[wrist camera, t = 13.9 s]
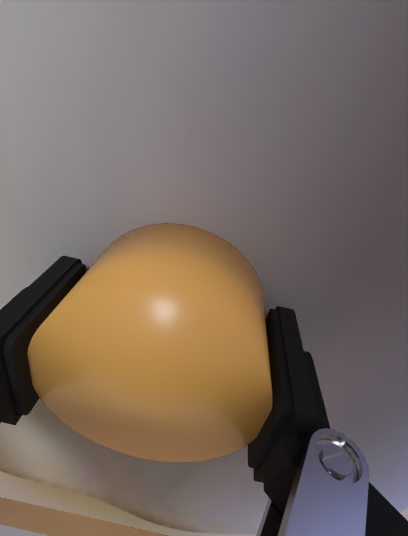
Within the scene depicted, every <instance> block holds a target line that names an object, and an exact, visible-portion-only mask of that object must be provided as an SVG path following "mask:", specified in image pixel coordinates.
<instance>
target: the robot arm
mask: <svg viewBox="0 0 408 536" xmlns="http://www.w3.org/2000/svg"><path fill="white" fill-rule="evenodd" d="M85 273H86V266H85V265H83V264H82V262H81V260H80V259H76V258H72V257H68V256H62V257H60V258H59V259H58V260H57V261H56V262H55V263H54V264H53V265H52V266H51V267H50V268H48V269H47V270H46V271H45V272H44V273H43V274H42V275H41V276H40V277H39V278H38V279H36V280H35V281H34V282H33V283H32V284H31V285H30V286H29V287H26V288H25V289H23V290H22V291H21V292H20V293H19V294H17V295H16V296H15V297H14V298H13V299H12V300H11V301H10V302H9V303H8V304H6V305H5V306H4V307H3V308H2V309H1V310H0V423H1V422H4V423H8V424H12V425H16V423H17V422H18V421H19V419H20V418H21V416H22V415H27V414H29V413H30V411H31V410H32V408H33V407H34V405H35V404H36V402H37V401H38V399H39V398H40V397H39V396H38V394H37V392H36V391H35V389H34V387H33V385H32V378H31V372H30V366H29V360H28V354H27V353H28V347H29V344H30V342H31V339H32V337H33V335H34V334H35V332H36V331H37V329H38V328H39V327H40V325H41V324H42V323H43V322H44V321H45V320H46V318H47V317H48V316H49V315H50V314H51V313H52V311H53V310H54V309H55V308H56V307H57V306H58V304H59V303H60V302H61V301H62V300H63V299H64V297H65V296H66V295H67V294H68V293H69V292H70V291H71V289H72V288H73V287H74V286H75V285H76V284H77V282H78V281H79V280H80V279H81V278H82V277H83V275H84V274H85ZM266 330H267V341H268V352H269V363H270V374H271V385H272V410H271V412H270V414H269V415H268V417H267V419H266V421H265V423H264V424H263V426H262V428H261V430H260V432H259V434H258V435H257V437H256V438H255V439H254V440H253V441H252V442H250V443H249V444H248V466H249V467H250V468H254V481H258V482H263V483H264V491H265V493H266V494H267V495H268V497H269V499H268V502H267V505H266V508H265V511H264V514H263V517H262V520H261V523H260V526H259V529H258V532H257V535H256V536H408V521H407V520H406V519H405V518H404V517H403V516H402V515H401V514H400V513H399V512H398V511H397V510H396V509H395V508H394V507H393V506H392V505H391V504H390V503H389V502H388V501H387V500H386V499H385V498H384V497H383V496H382V495H381V494H380V493H379V492H378V491H377V490H376V489H375V488H374V486H373V485H372V484H371V483H370V482H369V469H368V465H367V462H366V460H365V457H364V456H363V454H362V452H361V451H360V449H359V448H358V447H357V446H356V445H355V443H354V442H353V441H352V440H351V439H349V438H348V437H347V436H345V435H344V434H343V433H340V432H338V431H336V430H333V429H330V426H329V422H328V418H327V414H326V410H325V406H324V402H323V398H322V394H321V390H320V386H319V382H318V378H317V374H316V371H315V367H314V363H313V359H312V356H311V354H310V353H309V352H306V351H303V347H302V342H301V338H300V333H299V329H298V324H297V320H296V315H295V312H294V310H292V309H288V308H284V307H280V306H277V307H276V309H275V310H274V309H270V311H269V313H268V315H267V317H266ZM0 536H167V535H162V534H158V533H154V532H149V531H145V530H141V529H136V528H132V527H128V526H123V525H119V524H115V523H110V522H106V521H102V520H97V519H93V518H89V517H84V516H80V515H75V514H71V513H67V512H63V511H58V510H54V509H50V508H45V507H41V506H36V505H32V504H28V503H23V502H19V501H14V500H10V499H6V498H1V497H0Z"/></svg>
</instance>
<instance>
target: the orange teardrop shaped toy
mask: <svg viewBox="0 0 408 536" xmlns="http://www.w3.org/2000/svg"><path fill="white" fill-rule="evenodd" d="M27 354H28V360H29V366H30V372H31V378H32V385H33V387H34V389H35V391H36V392H37V394H38V396H39V397H40V399H41V400H42V401H43V403H44V404H45V405H46V406H47V408H48V409H49V410H50V411H51V412H52V413H53V414H54V415H55V416H56V417H57V418H58V419H60V420H61V421H62V422H63V423H64V424H66V425H67V426H68V427H70V428H71V429H73V430H74V431H75V432H77V433H79V434H80V435H82V436H84V437H85V438H87V439H89V440H91V441H93V442H95V443H97V444H99V445H101V446H104V447H106V448H108V449H111V450H114V451H117V452H120V453H122V454H126V455H129V456H133V457H137V458H142V459H147V460H153V461H161V462H175V463H179V462H199V461H205V460H211V459H215V458H219V457H223V456H226V455H228V454H231V453H233V452H236V451H238V450H239V449H241V448H243V447H245V446H246V445H248V444H249V443H250V442H252V441H253V440H254V439H255V438H256V437H257V435H258V434H259V432H260V430H261V428H262V426H263V424H264V423H265V421H266V419H267V417H268V415H269V414H270V412H271V410H272V385H271V374H270V363H269V352H268V341H267V330H266V320H265V309H264V298H263V292H262V287H261V284H260V281H259V278H258V276H257V274H256V272H255V270H254V268H253V267H252V266H251V264H250V263H249V261H248V260H247V259H246V258H245V257H244V256H243V255H242V254H241V253H240V252H239V251H238V250H237V249H236V248H235V247H234V246H232V245H231V244H230V243H228V242H227V241H225V240H224V239H222V238H220V237H219V236H217V235H215V234H212V233H210V232H208V231H206V230H203V229H199V228H196V227H193V226H187V225H182V224H169V223H165V224H153V225H148V226H143V227H140V228H137V229H134V230H132V231H130V232H128V233H126V234H124V235H122V236H121V237H119V238H118V239H116V240H115V241H114V242H113V243H112V244H111V245H110V246H109V247H108V248H107V249H106V250H105V251H104V252H103V253H102V255H101V256H100V257H99V258H98V259H97V260H96V261H95V263H94V264H93V265H92V266H91V267H90V268H89V270H88V271H87V272H86V273H85V274H84V275H83V277H82V278H81V279H80V280H79V281H78V282H77V284H76V285H75V286H74V287H73V288H72V289H71V291H70V292H69V293H68V294H67V295H66V296H65V297H64V299H63V300H62V301H61V302H60V303H59V304H58V306H57V307H56V308H55V309H54V310H53V311H52V313H51V314H50V315H49V316H48V317H47V318H46V320H45V321H44V322H43V323H42V324H41V325H40V327H39V328H38V329H37V331H36V332H35V334H34V335H33V337H32V339H31V342H30V344H29V347H28V353H27Z"/></svg>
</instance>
